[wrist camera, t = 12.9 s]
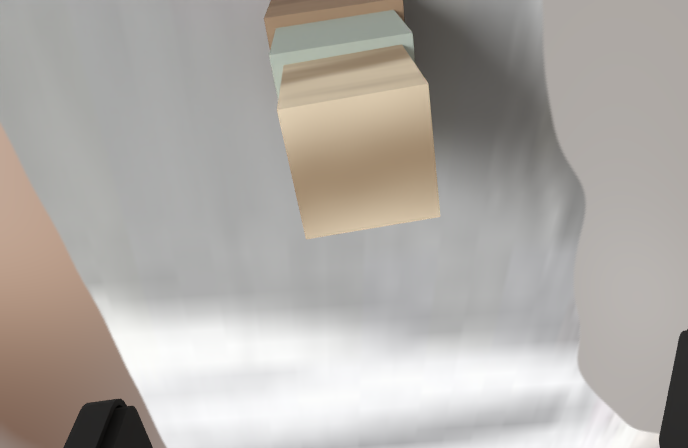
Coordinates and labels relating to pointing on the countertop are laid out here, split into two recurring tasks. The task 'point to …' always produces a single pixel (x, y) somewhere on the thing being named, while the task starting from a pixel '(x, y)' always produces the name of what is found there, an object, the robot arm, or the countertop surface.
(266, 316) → the countertop surface
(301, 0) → the walnut base block
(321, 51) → the sage top block
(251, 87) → the countertop surface
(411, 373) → the countertop surface
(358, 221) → the ash block
